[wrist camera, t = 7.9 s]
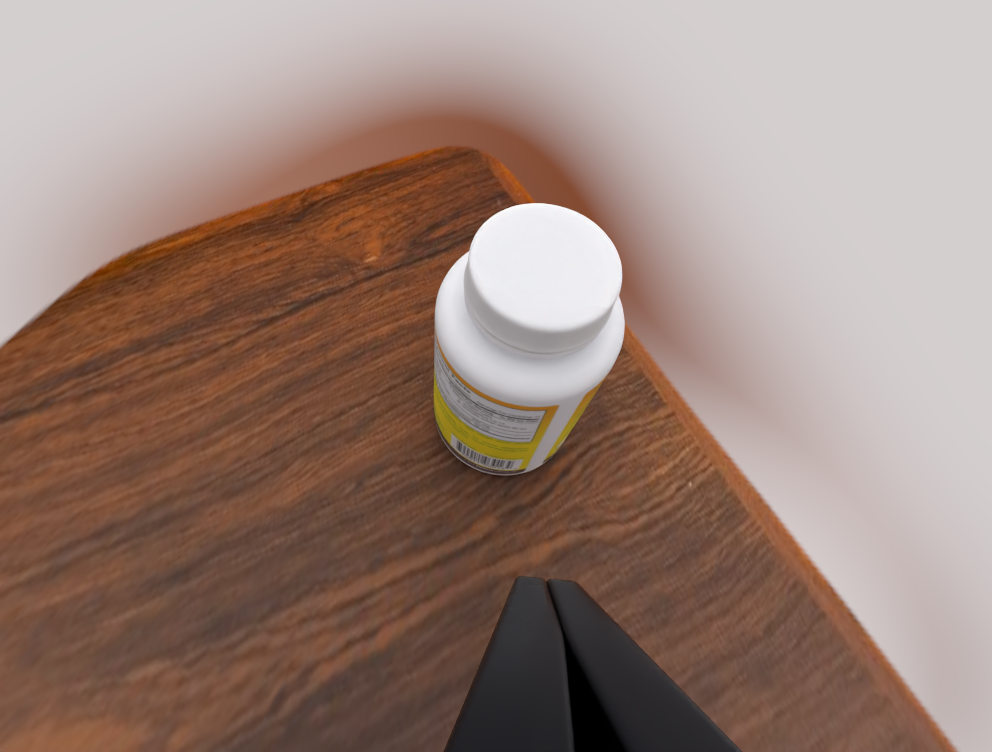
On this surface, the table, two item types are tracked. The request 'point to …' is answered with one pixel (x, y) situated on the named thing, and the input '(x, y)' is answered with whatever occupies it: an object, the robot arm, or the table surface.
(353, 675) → the table surface
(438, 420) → the supplement bottle
